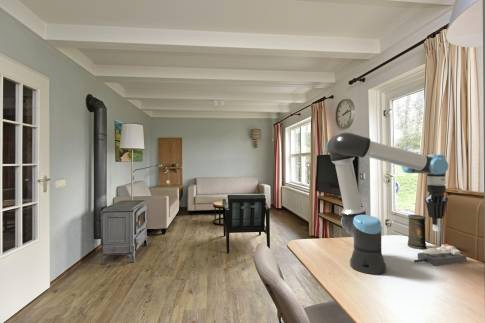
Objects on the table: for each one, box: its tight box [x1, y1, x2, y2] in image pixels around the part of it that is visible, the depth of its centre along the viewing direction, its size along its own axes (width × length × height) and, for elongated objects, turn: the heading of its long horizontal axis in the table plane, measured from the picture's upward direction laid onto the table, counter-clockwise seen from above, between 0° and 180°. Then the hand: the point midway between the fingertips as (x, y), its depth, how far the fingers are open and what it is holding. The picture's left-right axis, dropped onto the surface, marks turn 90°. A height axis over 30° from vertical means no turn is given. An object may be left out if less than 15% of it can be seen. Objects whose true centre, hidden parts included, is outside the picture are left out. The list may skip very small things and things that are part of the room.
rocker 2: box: [435, 246, 451, 254], centre depth 125 cm, size 4×7×3 cm, turn 15°
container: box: [407, 214, 428, 250], centre depth 145 cm, size 9×9×18 cm
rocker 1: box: [422, 247, 442, 255], centre depth 123 cm, size 4×7×3 cm, turn 15°
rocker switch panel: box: [413, 252, 467, 267], centre depth 124 cm, size 27×9×3 cm, turn 105°
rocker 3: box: [440, 243, 461, 255], centre depth 126 cm, size 4×7×3 cm, turn 15°
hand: (436, 230), depth 127 cm, fingers closed
